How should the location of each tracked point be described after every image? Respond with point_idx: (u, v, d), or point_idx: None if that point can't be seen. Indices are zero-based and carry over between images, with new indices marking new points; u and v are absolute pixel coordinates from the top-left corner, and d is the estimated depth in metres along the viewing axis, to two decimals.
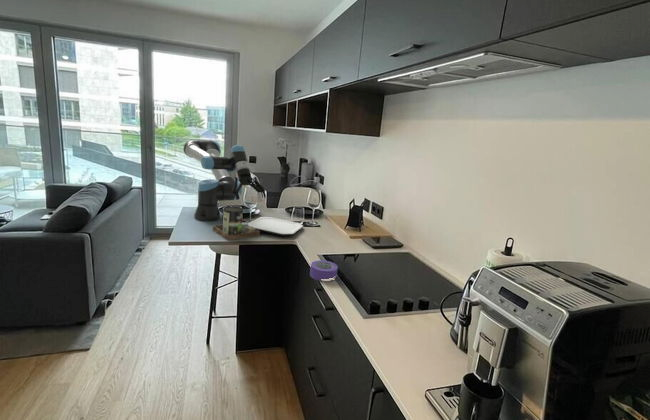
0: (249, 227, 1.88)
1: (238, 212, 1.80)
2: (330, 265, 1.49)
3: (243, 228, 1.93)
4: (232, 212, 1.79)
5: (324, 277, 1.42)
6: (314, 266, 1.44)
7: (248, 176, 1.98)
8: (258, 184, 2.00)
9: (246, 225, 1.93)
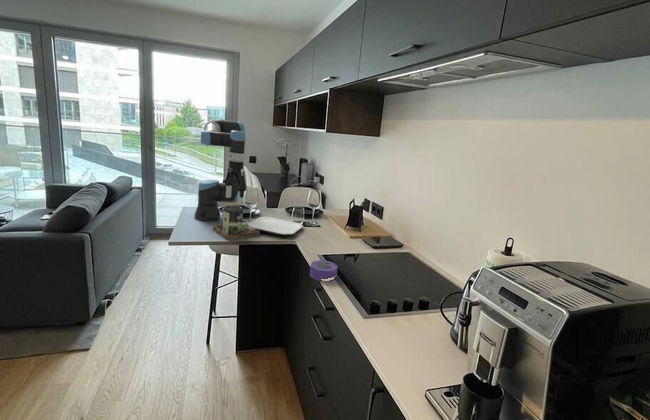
0: (249, 227, 1.88)
1: (238, 212, 1.80)
2: (330, 265, 1.50)
3: (243, 228, 1.93)
4: (232, 212, 1.79)
5: (324, 277, 1.42)
6: (314, 266, 1.44)
7: (235, 169, 1.76)
8: (240, 181, 1.74)
9: (246, 225, 1.93)
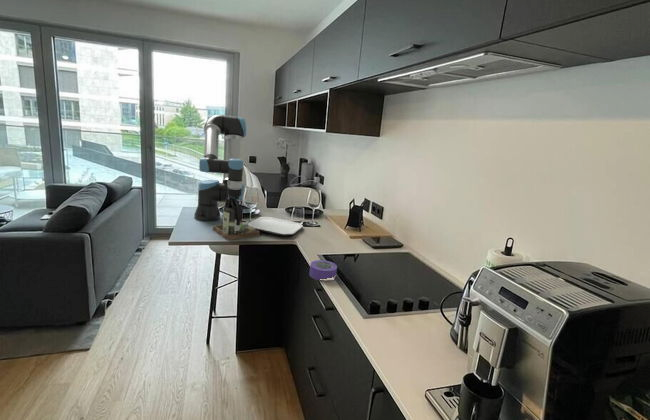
0: (249, 227, 1.88)
1: None
2: (330, 265, 1.50)
3: (243, 228, 1.93)
4: (232, 212, 1.79)
5: (323, 276, 1.42)
6: (314, 266, 1.45)
7: (233, 196, 1.79)
8: (237, 209, 1.78)
9: (246, 225, 1.93)
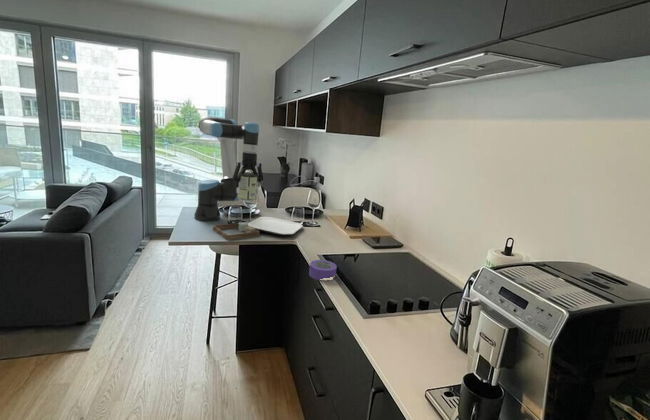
0: (249, 227, 1.88)
1: None
2: (329, 264, 1.50)
3: (243, 228, 1.93)
4: (257, 175, 1.84)
5: (323, 276, 1.42)
6: (313, 265, 1.45)
7: (253, 160, 1.82)
8: (260, 172, 1.86)
9: (246, 225, 1.93)
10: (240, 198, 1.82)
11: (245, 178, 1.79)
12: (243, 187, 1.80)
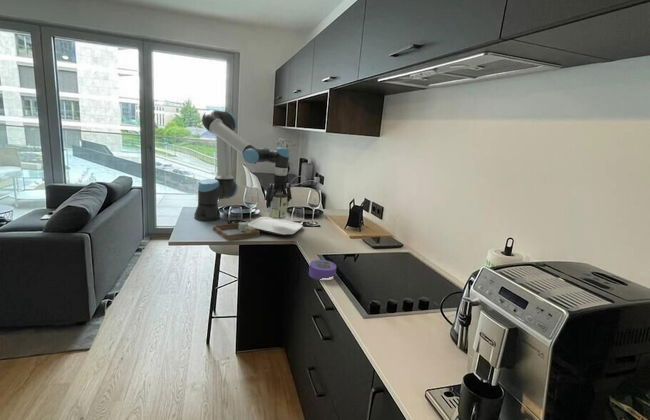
0: (249, 227, 1.88)
1: None
2: (329, 264, 1.50)
3: (243, 228, 1.93)
4: (287, 195, 1.99)
5: (323, 276, 1.42)
6: (313, 265, 1.45)
7: (284, 182, 1.97)
8: (289, 192, 2.01)
9: (246, 225, 1.93)
10: (272, 217, 1.97)
11: (277, 198, 1.94)
12: (275, 207, 1.95)
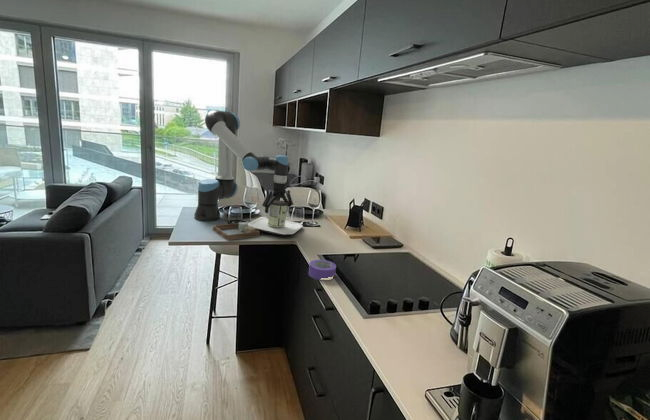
0: (249, 227, 1.88)
1: None
2: (328, 264, 1.50)
3: (243, 228, 1.93)
4: None
5: (322, 276, 1.42)
6: (313, 265, 1.45)
7: (283, 190, 1.98)
8: (289, 198, 2.03)
9: (246, 225, 1.93)
10: (271, 224, 1.98)
11: (276, 206, 1.95)
12: (274, 214, 1.96)
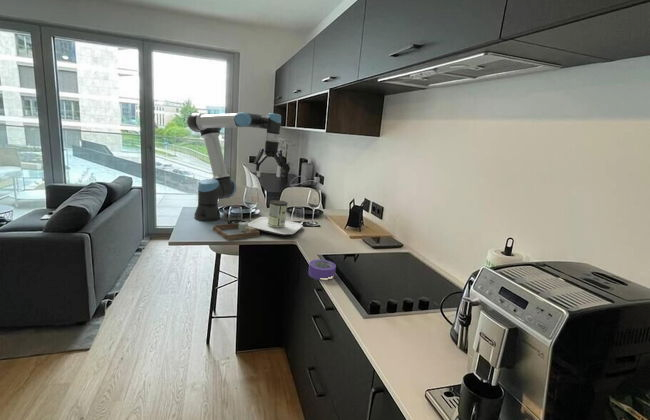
0: (249, 227, 1.88)
1: None
2: (328, 264, 1.50)
3: (243, 228, 1.93)
4: None
5: (322, 276, 1.43)
6: (312, 265, 1.45)
7: (275, 149, 1.98)
8: (281, 158, 2.03)
9: (246, 225, 1.93)
10: (271, 224, 1.98)
11: (276, 206, 1.95)
12: (274, 214, 1.96)
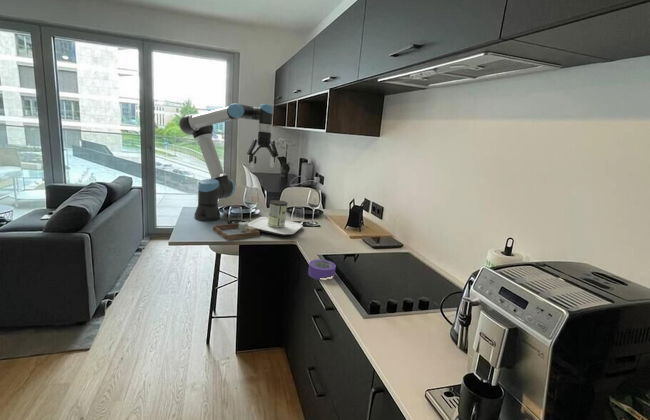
0: (249, 227, 1.88)
1: None
2: (328, 264, 1.50)
3: (243, 228, 1.93)
4: None
5: (322, 276, 1.43)
6: (312, 265, 1.45)
7: (267, 139, 2.01)
8: (274, 149, 2.06)
9: (246, 225, 1.93)
10: (271, 224, 1.98)
11: (276, 206, 1.95)
12: (274, 214, 1.96)
